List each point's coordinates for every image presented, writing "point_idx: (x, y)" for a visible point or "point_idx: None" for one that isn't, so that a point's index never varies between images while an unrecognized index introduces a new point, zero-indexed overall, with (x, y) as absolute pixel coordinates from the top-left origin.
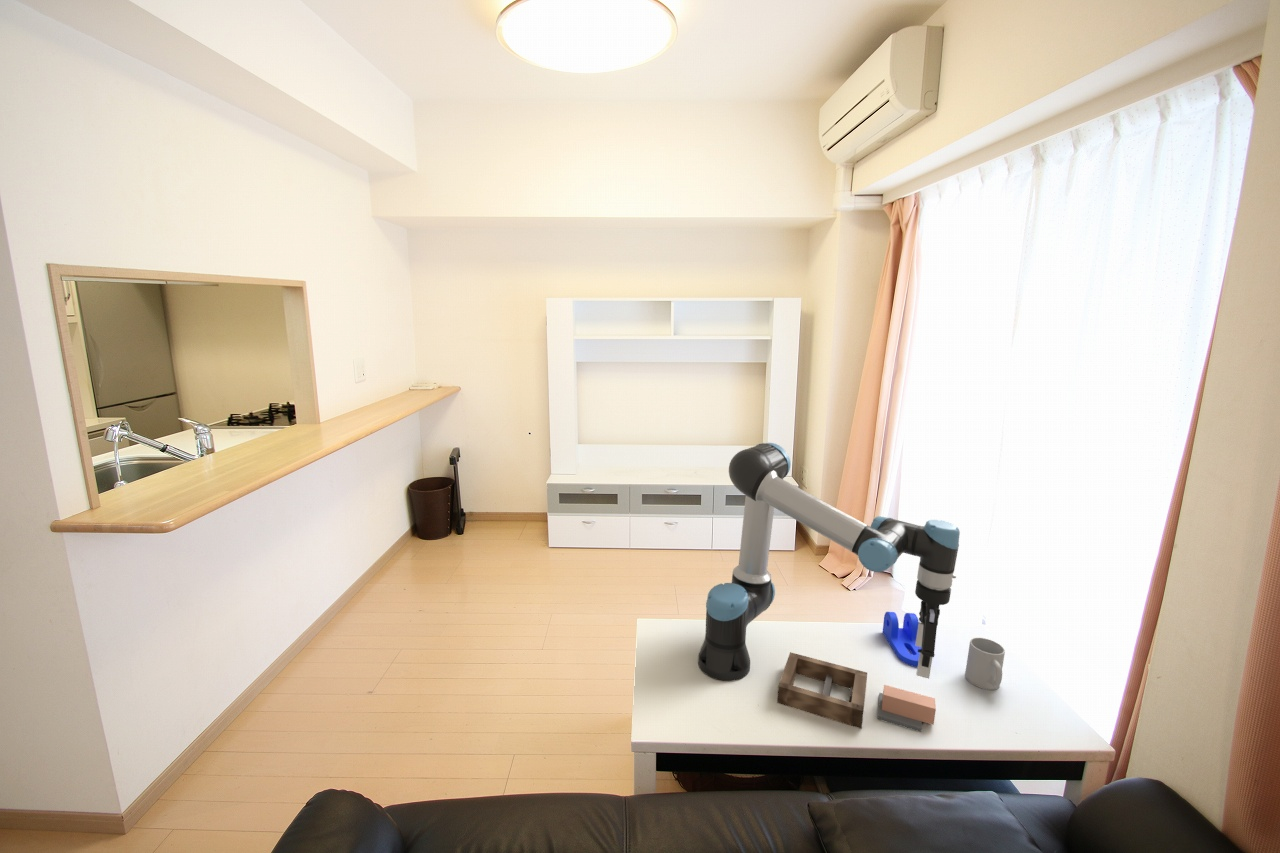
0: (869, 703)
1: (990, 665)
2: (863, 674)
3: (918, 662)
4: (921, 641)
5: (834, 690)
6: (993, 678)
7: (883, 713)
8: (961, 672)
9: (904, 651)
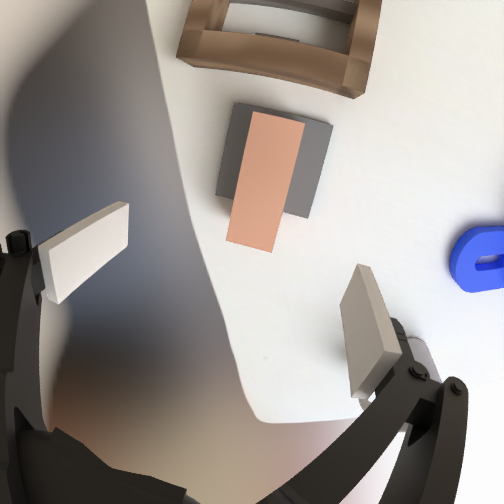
0: (294, 94)
1: None
2: (351, 78)
3: (86, 221)
4: (353, 300)
5: (323, 24)
6: None
7: (247, 116)
8: (426, 335)
9: (486, 246)
